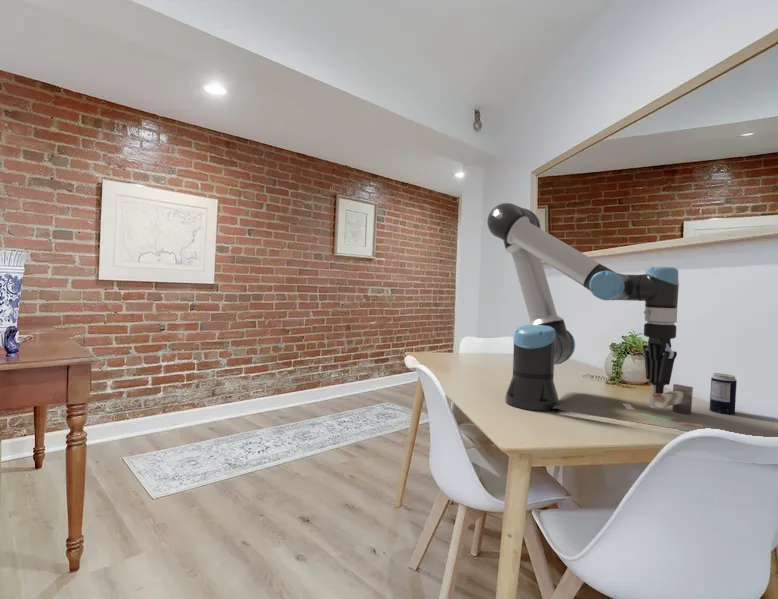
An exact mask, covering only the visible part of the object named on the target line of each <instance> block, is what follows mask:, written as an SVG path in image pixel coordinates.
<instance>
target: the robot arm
mask: <svg viewBox="0 0 778 599" xmlns="http://www.w3.org/2000/svg"><path fill="white" fill-rule="evenodd" d="M487 228H488V230H489V232H490V234H492V236H495V237H496V238H499V239H501V240H502V241H503V244H504V248H505V251H506V252H507V253H509V254H511V256H512V259H513V264H514V266H515V267H514V268H515V270H516V274H517V278H518V282H519V285H520V289H521V292H522V296H523V300H524V303H525V307H526V309H527V314H528V315H527V316H528V319H529V324H527V325H522V326H519V327H517V328H516V329H515V330H514V335H513V336H514V337H513V355H512V356H513V360H512V376H511V379H510V382H509V385H508V387H507V389H506V394H505V403H507V404H508V403H509V404H508V405H510V406H512V405H513V406H512V407H515V406H516V407H515V408H519V409H523V410H531V411H541V412H542V411H543V412H546V411H555V410H556V408H555V406H558V405H559V403H560V399H559V396H558V392H557V389H556V386H555V382H554V374H555V365H560V364H563V363H565V362H566V361H567V360H569V359H570V358H571V357H572V356H573V354H574V352H575V348H576V342H575V338H574V336H573V334H572V333H571V332H570V331H569V330H567V326H566V323H565V321H564V318H562V317H561V316H560V315H558V313H557V311H556V307H555V303H554V300H553V297H552V294H551V293H552V292H551V289H550V286H549V283H548V280H547V278H548V277H547V275H546V273H545V268H544V265H543V262H544V263H545V264H547V265H549V266H550V267H553V268H554V269H555V270H557V271H558V272H560V273H562V274H563V275H565V276H567V277H568V278H569V279H571V280H573V281H575V282H576V283H578V284H579V285H581V286H582V287H584V288H586V289H587V290H588V291H590V292H591V294H592V295H593V296H594V297H595V298H597V299H599V300H602V301H637V302H642V301H643V302H644V307H645V308H644V311H643V315H644V322H645V323H644V324H643V336H644V337H647V338H648V341H647V344H643V345H642V350H643V353H644V354H643V355H644V365H645V366H644V368H645V377H646V380H648V381H649V383H650V397H649V399H650V400H649V407H650V408H651V409H659V410H660V409H663V408H664V407H663V408H661V407H657V406H655V397H654V396H652V394H654V393H664V389H665V388H664V387H665V386H666V385H667V386H669V385H670V382H671V379H672V374H673V369H674V368H673V367H674V365H675V364H674V363H675V360H676V358H677V355H678V353H677V351H674V350H672V343H671V339H675V338H677V325H676V324H675V323H677V322H678V300H679V287H680V283H679V270H678V269H677V268H676V267H672V266H656V267H655V266H654V267H653V266H652V267H651V266H650V267H648V268H647V269H646V272H645V274H644V273H643V274H624V273H620V272H616V271H613V270H612V269H610V268H609V267H607V266H605V265H603V264H601V263H599V262H598V261H596V260H595V259H593V258H591V257H589V256H588V255H586V254H584V253H582V252H581V251H579V250H578V249H576V248H574V247H573V246H571V245H569V244H567V243H566V242H564V241H562V240H560V239H559V238H557V237H555V236H554V235H552V234H550V233H549V232H547V231H545V230H543V229H542V228H541V221H540V219H539V217H538V216H537V214H535V213H534V212H533V211H532V210H530V209H527V208H523V207H522V206H521V207H520V206H519V205H516V204H514V203H509V202H504V203H500V204H498V205H496V206H495V207H493V208H492V209H491V210H490V212H489V214H488V217H487Z"/></svg>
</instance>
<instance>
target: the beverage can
mask: <svg viewBox="0 0 778 599" xmlns="http://www.w3.org/2000/svg"><path fill="white" fill-rule="evenodd" d="M737 382H738V381H737V379H736V375H733V374H728V373H713V375H712V376H711V379H710V395H709V396H710V397H709V411H710V412H712V413H716V414H719V415H726V416H727V415H728V416H730V415H731V416H734V415H735V414H736V403H737V402H736V400H737V399H736V398H737Z"/></svg>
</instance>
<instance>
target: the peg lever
mask: <svg viewBox="0 0 778 599" xmlns="http://www.w3.org/2000/svg"><path fill="white" fill-rule="evenodd" d="M693 391H694V387H693V386H689V385H683V384H677V383H673V386H672V391H668V392H667V391H666V392H663V393H654V394H652V396H654V397H655V406H657V407H661V408H667V407H670V406H672V409H671V410H672V412H675V413H677V414H682V415H683V414H684V415H691V414H692V408H693V406H692V405H693V403H692V402H693V394H694V393H693Z"/></svg>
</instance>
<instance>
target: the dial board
mask: <svg viewBox="0 0 778 599" xmlns="http://www.w3.org/2000/svg"><path fill="white" fill-rule="evenodd" d="M621 404H622V405H623V406H624V408H626V409H627V410H631V411H635V410H636V409H635V408H634V407H633V406H632V405H631V404H629V403H621ZM639 415H641V416H644V417H647V418H649V419H654V420H659V421H662V422H665V423H666V422H671V420H670V419H667V418H664V417H660V416H656V415H652V414H650V413H646V412H644V413H643V412H642V413H639ZM613 419H614V420H616V418H614V417H613ZM618 420H620V421H622V419H619V418H618ZM625 421H626V422H628V420H627V419H624V422H625ZM630 422H633V423H634V421H632V420H630ZM636 423H637V424H640V422H637V421H636ZM642 424H643V425H646V423H645V422H643V423H642ZM679 424H680V425H686V426H687V425H688V426H694V427H700V428H703V425H702V424H699V423H693V422H685V421H679ZM647 425H650V426H652V424H650V423H647ZM653 426H655V427H658V425H655V424H653ZM659 427H660V428H661V427H663V428H664V425H663V426H662V425H659ZM665 428H666V429H670V427H668V426H665ZM671 429H675V430H676V428H674V427H671ZM677 430H679V431H682V429H680V428H677ZM683 431H686V432H688V430H684V429H683Z"/></svg>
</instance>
